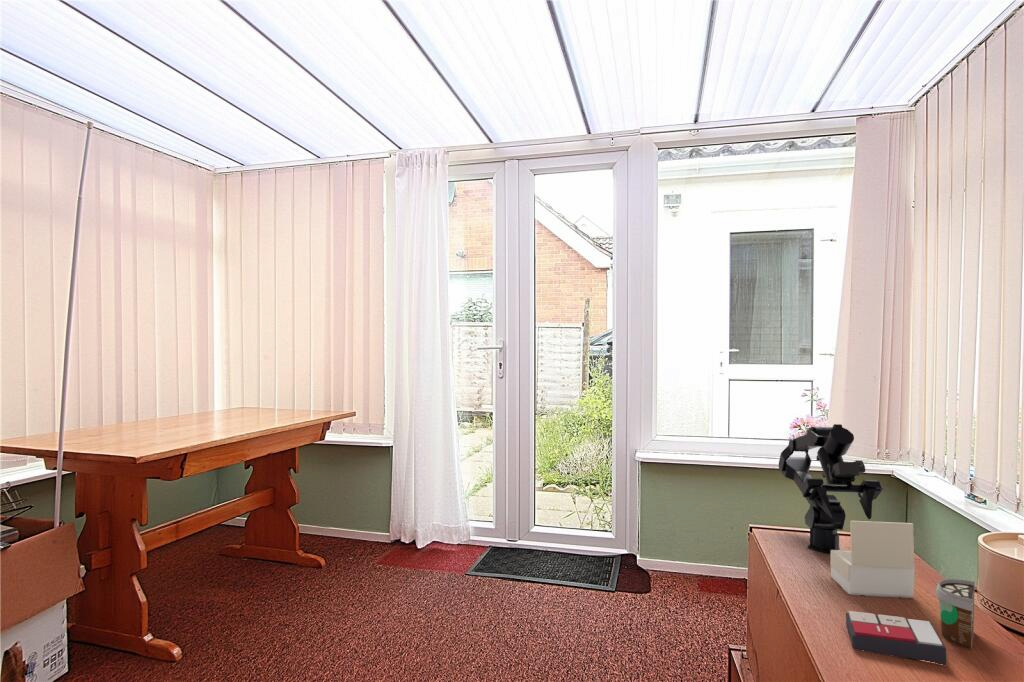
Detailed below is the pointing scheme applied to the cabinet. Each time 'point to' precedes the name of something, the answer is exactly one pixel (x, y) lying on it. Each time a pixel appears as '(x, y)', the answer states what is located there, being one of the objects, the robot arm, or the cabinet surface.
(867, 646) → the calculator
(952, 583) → the food container
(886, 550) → the carton flap
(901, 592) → the carton
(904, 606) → the cabinet surface
